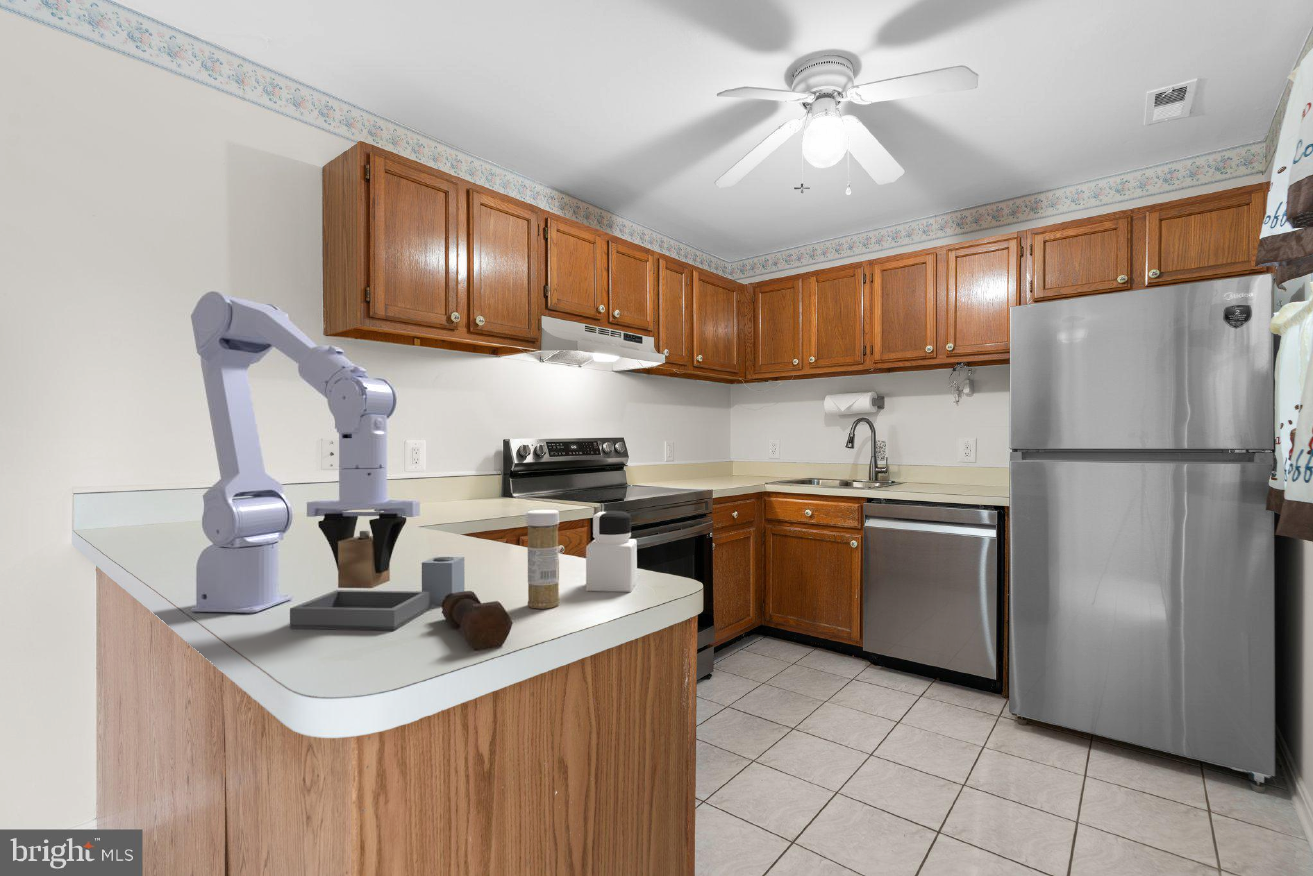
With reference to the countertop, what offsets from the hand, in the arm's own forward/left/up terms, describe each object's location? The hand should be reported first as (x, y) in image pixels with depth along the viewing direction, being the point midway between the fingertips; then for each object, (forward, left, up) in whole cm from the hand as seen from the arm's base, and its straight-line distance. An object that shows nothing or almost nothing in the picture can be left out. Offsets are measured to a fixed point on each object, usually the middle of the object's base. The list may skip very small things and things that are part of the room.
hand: (363, 571), depth 81 cm
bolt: (+16, -4, -7) cm, 18 cm away
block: (0, 0, -2) cm, 2 cm away
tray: (0, 0, -6) cm, 6 cm away
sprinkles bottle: (+22, +8, -6) cm, 24 cm away
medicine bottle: (+30, +20, -6) cm, 37 cm away
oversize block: (+6, +10, -6) cm, 13 cm away
